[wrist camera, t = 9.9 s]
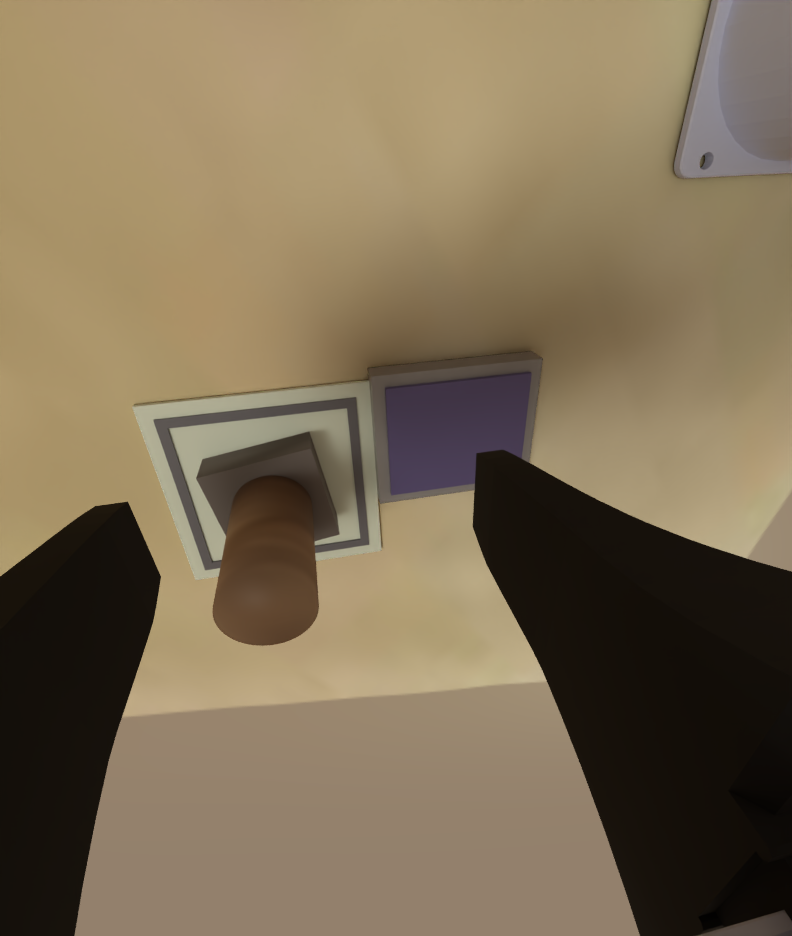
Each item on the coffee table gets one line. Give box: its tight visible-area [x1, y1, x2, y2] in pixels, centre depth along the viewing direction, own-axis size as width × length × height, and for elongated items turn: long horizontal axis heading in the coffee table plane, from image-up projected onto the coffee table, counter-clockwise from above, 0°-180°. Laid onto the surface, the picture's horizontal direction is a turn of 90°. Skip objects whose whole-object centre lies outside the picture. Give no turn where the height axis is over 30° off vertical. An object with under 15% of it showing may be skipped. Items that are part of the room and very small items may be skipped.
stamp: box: [196, 432, 340, 645], centre depth 18 cm, size 4×4×7 cm
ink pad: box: [368, 351, 543, 504], centre depth 20 cm, size 7×6×1 cm
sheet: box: [132, 380, 382, 580], centre depth 21 cm, size 9×9×1 cm
